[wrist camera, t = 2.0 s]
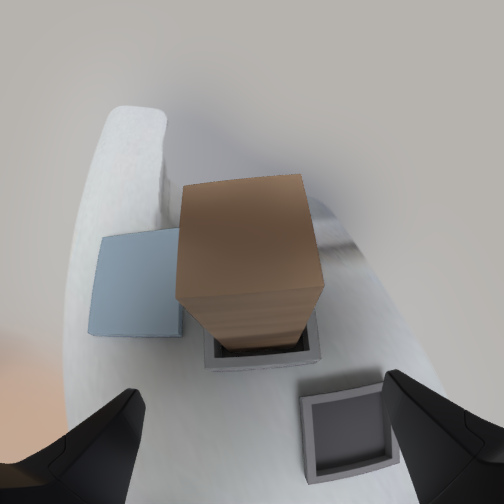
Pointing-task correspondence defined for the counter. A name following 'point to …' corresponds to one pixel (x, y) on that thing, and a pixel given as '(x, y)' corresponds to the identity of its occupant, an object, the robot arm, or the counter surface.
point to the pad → (136, 286)
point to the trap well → (346, 434)
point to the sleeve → (307, 356)
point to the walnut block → (248, 261)
